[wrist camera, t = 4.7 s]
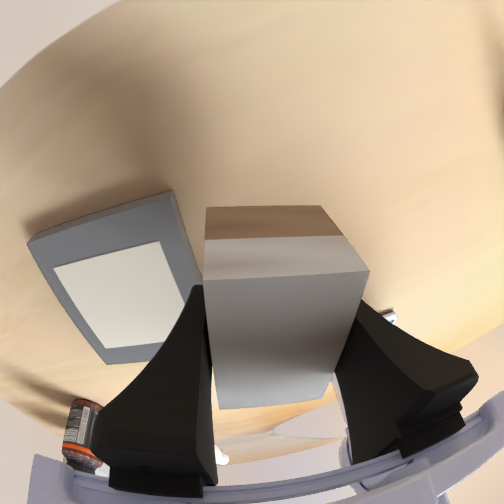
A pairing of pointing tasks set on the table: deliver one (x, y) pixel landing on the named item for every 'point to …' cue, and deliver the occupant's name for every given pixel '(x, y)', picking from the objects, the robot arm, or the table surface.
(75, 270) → the stand
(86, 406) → the supplement bottle
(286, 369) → the block
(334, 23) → the table surface
